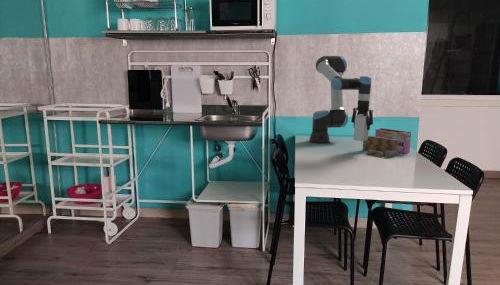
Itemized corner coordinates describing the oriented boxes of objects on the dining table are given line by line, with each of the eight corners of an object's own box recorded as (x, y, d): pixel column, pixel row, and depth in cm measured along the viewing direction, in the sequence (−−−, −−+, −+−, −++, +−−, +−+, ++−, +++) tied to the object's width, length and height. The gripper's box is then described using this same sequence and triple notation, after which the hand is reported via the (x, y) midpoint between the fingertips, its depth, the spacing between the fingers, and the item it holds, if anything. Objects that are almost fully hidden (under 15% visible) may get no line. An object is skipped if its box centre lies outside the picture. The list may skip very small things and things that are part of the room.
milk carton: (357, 138, 269) (359, 111, 264) (367, 140, 264) (370, 112, 260) (353, 140, 263) (355, 112, 259) (363, 141, 259) (365, 113, 255)
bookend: (384, 157, 248) (385, 151, 248) (392, 154, 256) (393, 148, 255) (388, 157, 247) (389, 151, 246) (396, 155, 254) (396, 149, 253)
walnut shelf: (354, 151, 263) (355, 137, 261) (363, 149, 271) (364, 135, 269) (387, 158, 246) (389, 142, 244) (397, 155, 254) (398, 140, 253)
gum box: (372, 147, 278) (373, 128, 275) (378, 146, 283) (379, 127, 280) (404, 153, 260) (405, 133, 258) (409, 151, 265) (411, 132, 263)
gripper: (347, 99, 262) (344, 132, 267) (375, 101, 248) (372, 137, 253) (353, 98, 267) (350, 131, 272) (380, 101, 253) (377, 135, 258)
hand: (361, 134), depth 263 cm, fingers closed on milk carton, 7 cm apart
